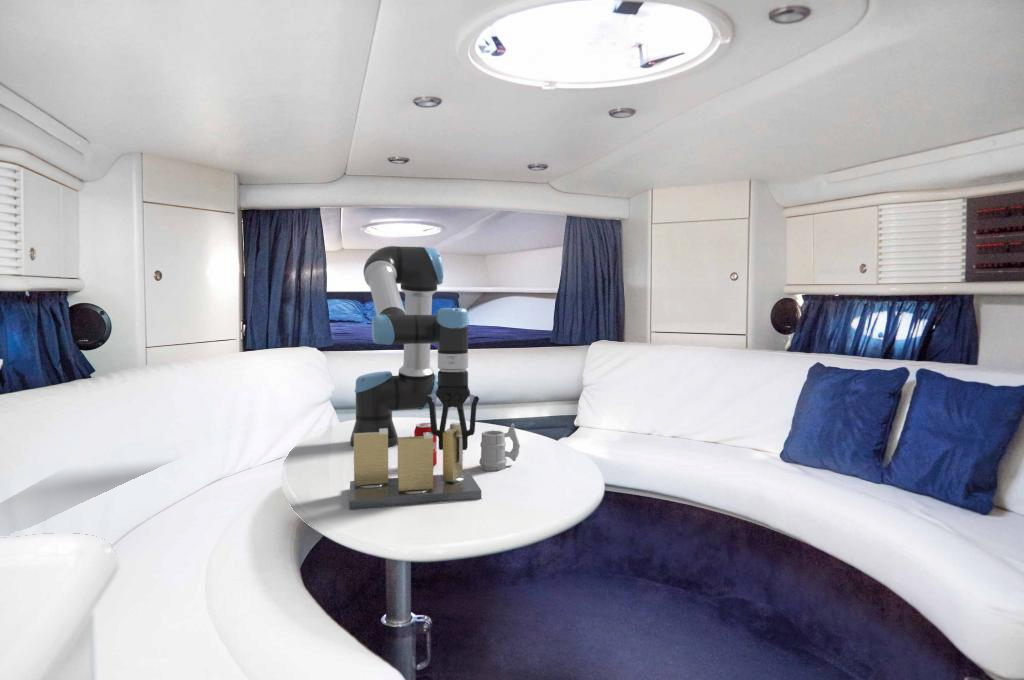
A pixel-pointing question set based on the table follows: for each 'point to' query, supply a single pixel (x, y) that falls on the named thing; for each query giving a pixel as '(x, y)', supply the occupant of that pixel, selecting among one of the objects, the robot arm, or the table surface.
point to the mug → (497, 449)
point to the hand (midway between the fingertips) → (453, 462)
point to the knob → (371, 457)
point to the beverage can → (419, 431)
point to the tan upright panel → (451, 452)
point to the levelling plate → (413, 493)
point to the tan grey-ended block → (415, 462)
